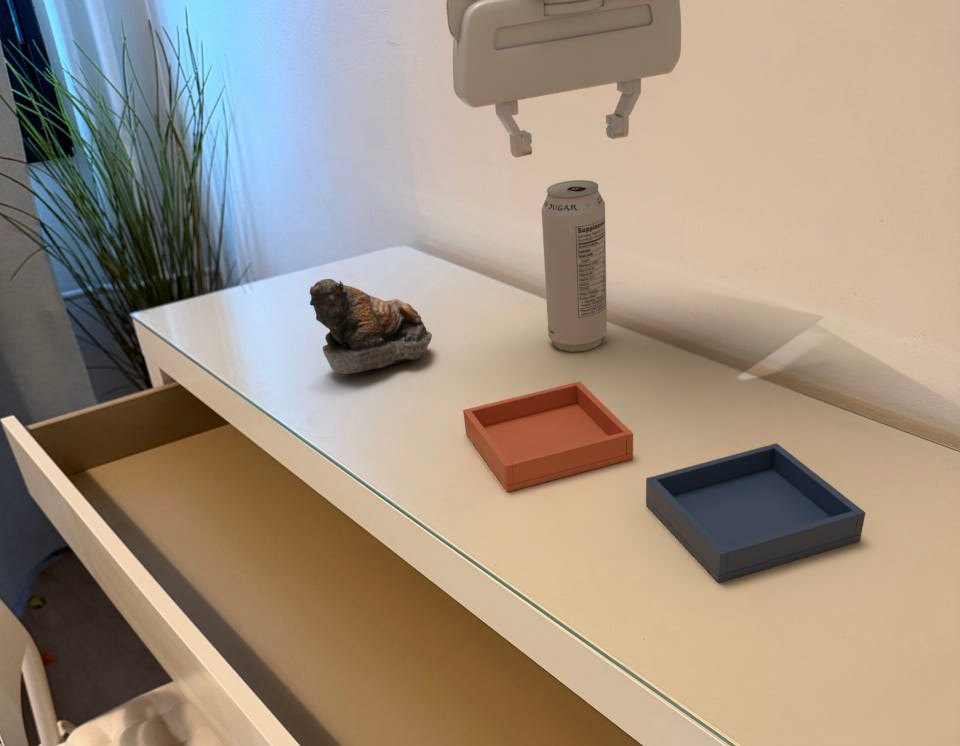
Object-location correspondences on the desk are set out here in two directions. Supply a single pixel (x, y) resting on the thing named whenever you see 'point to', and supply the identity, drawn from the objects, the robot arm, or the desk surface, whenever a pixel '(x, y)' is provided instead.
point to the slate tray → (752, 511)
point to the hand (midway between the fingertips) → (569, 146)
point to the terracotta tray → (547, 435)
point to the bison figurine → (366, 328)
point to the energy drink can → (575, 264)
